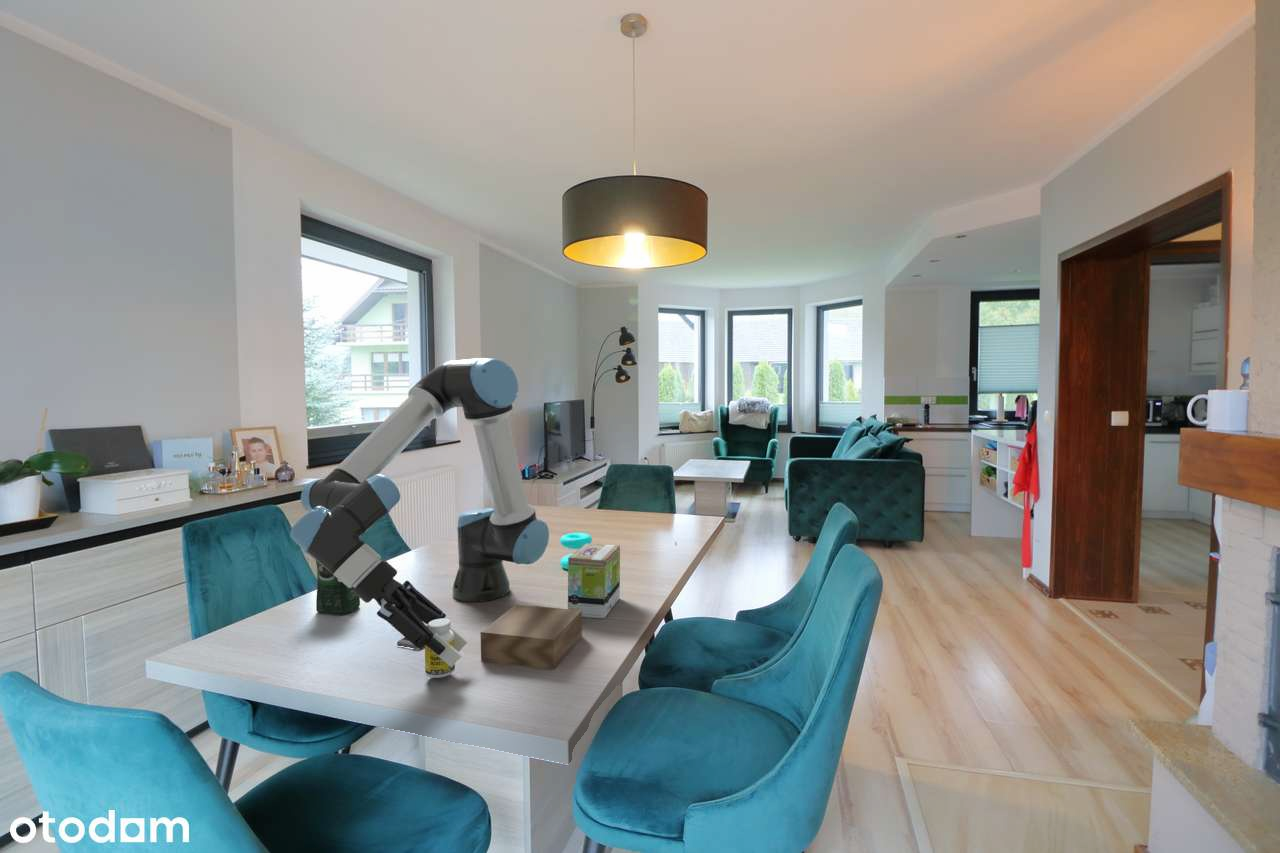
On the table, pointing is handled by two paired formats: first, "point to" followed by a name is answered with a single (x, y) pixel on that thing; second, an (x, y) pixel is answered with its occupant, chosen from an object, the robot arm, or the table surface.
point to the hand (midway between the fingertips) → (459, 653)
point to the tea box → (594, 579)
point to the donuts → (573, 544)
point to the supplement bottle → (432, 662)
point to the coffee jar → (333, 594)
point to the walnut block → (531, 636)
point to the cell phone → (406, 643)
